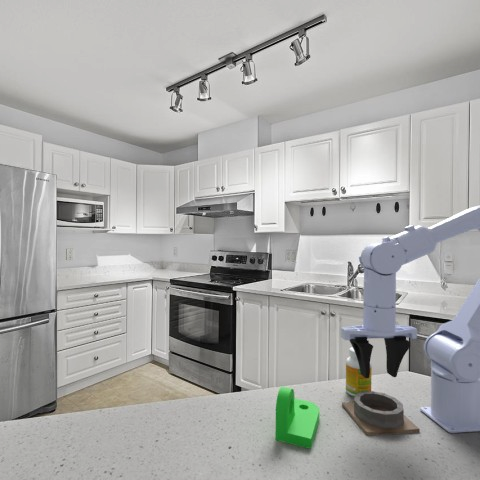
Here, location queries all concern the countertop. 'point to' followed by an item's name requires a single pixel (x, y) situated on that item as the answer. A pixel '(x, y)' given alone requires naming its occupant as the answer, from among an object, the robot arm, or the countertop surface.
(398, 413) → the collar holder
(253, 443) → the countertop surface
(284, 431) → the mechanical part
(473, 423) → the robot arm
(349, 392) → the supplement bottle
